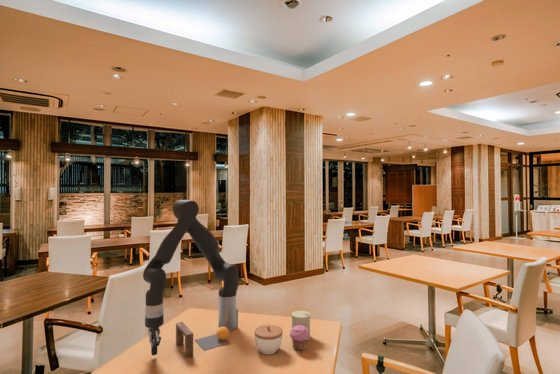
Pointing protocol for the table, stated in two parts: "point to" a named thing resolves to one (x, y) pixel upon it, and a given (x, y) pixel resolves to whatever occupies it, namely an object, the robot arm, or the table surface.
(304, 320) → the can
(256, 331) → the lidded bowl
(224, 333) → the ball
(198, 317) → the table surface
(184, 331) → the bridge
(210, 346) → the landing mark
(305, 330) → the cupcake
